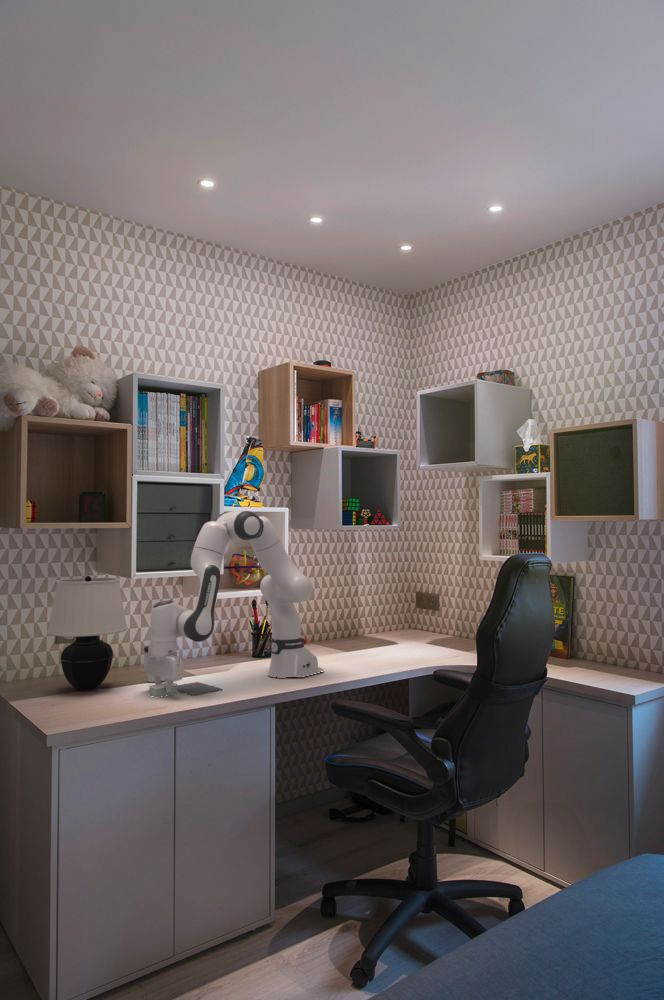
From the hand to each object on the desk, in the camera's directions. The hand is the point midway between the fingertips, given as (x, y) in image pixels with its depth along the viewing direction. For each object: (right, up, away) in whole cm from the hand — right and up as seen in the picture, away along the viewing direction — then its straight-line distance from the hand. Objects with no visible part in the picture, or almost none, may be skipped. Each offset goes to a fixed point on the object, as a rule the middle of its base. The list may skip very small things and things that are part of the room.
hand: (163, 690), depth 239 cm
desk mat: (+9, -2, +8) cm, 13 cm away
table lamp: (-29, -3, +9) cm, 31 cm away
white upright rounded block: (-6, -3, +22) cm, 23 cm away
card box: (0, -2, 0) cm, 2 cm away
